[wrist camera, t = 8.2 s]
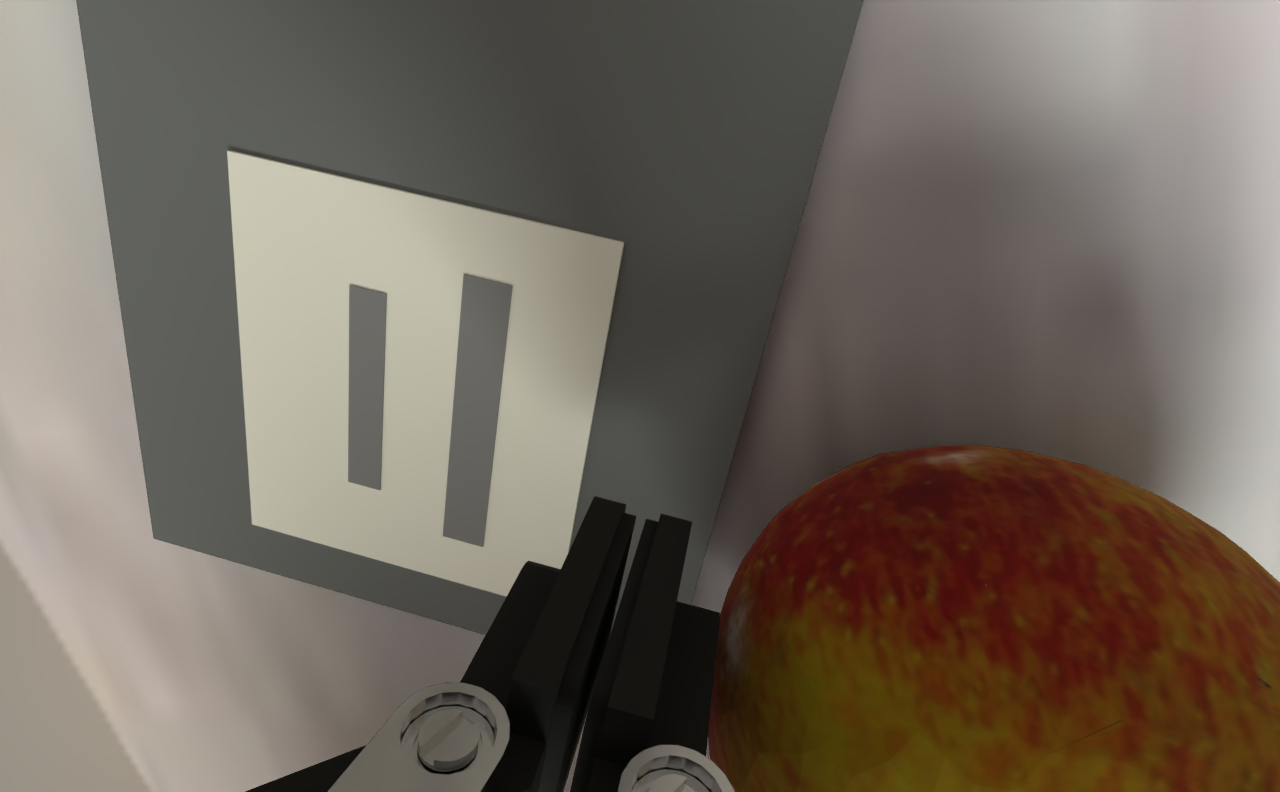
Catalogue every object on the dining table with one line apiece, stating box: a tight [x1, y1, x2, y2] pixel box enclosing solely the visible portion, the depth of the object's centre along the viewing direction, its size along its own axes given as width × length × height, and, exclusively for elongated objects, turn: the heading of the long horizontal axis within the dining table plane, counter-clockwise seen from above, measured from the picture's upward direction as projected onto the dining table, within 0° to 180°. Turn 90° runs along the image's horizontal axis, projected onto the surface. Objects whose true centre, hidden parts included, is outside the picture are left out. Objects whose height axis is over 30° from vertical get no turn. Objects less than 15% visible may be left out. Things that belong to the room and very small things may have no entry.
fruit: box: [708, 445, 1280, 792], centre depth 11 cm, size 10×9×8 cm
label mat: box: [76, 0, 863, 635], centre depth 12 cm, size 26×14×1 cm, turn 169°
